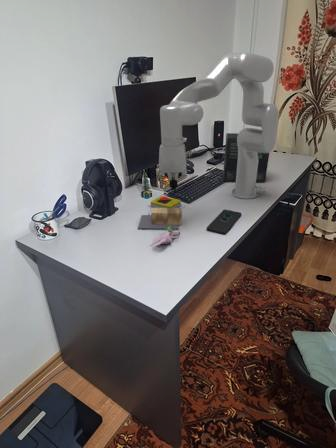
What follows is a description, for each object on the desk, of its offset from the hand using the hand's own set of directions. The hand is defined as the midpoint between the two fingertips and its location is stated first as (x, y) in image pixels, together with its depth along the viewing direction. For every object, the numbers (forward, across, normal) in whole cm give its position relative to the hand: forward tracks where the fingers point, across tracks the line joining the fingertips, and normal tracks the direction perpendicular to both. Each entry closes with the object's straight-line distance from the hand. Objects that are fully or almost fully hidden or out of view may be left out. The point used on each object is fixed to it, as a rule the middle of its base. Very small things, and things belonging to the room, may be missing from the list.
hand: (173, 188), depth 120 cm
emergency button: (+16, +5, -16) cm, 23 cm away
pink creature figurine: (+14, +2, +16) cm, 22 cm away
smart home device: (+16, -20, 0) cm, 26 cm away
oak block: (+12, -3, +1) cm, 12 cm away
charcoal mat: (+14, +6, +1) cm, 16 cm away
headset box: (+17, -36, -54) cm, 67 cm away
